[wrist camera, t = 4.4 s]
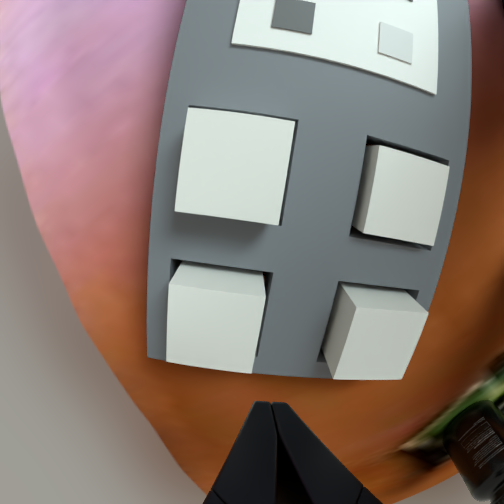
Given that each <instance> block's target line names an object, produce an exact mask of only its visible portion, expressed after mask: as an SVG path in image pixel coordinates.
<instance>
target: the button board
mask: <svg viewBox="0 0 504 504" xmlns="http://www.w3.org/2000/svg"><path fill="white" fill-rule="evenodd" d="M471 86H472V51H471V29H470V16H469V6H468V0H187V1H186V5H185V9H184V13H183V17H182V21H181V25H180V29H179V33H178V38H177V42H176V47H175V51H174V56H173V61H172V66H171V71H170V76H169V81H168V87H167V93H166V98H165V104H164V110H163V117H162V123H161V130H160V137H159V145H158V152H157V160H156V169H155V178H154V188H153V198H152V210H151V222H150V237H149V255H148V279H147V357H149V358H154V359H159V360H165V361H166V347H167V313H168V291H169V283H170V281H171V279H172V278H173V276H174V274H175V273H176V271H177V269H178V268H179V266H180V264H181V260H186V261H193V262H200V263H208V264H215V265H222V266H229V267H236V268H244V269H251V270H259V271H266V275H265V281H264V287H265V295H266V299H265V305H264V310H263V316H262V321H261V326H260V332H259V337H258V342H257V348H256V353H255V358H254V363H253V369H252V373H258V374H269V375H280V376H294V377H310V378H332V375H331V372H330V369H329V367H328V364H327V361H326V358H325V356H324V353H323V350H322V347H321V344H322V340H323V337H324V334H325V330H326V326H327V323H328V319H329V316H330V312H331V308H332V304H333V301H334V297H335V293H336V289H337V285H338V281H345V282H353V283H361V284H369V285H378V286H386V287H395V288H403V289H404V290H405V291H406V292H407V293H408V294H409V295H410V296H411V297H412V298H413V299H415V300H416V301H417V302H418V303H419V304H420V305H421V306H422V307H423V308H424V309H425V310H426V311H427V312H428V310H429V307H430V304H431V301H432V299H433V296H434V292H435V289H436V286H437V283H438V280H439V277H440V273H441V270H442V267H443V263H444V260H445V256H446V252H447V248H448V245H449V241H450V237H451V233H452V228H453V224H454V220H455V215H456V210H457V206H458V201H459V195H460V190H461V184H462V178H463V172H464V166H465V159H466V151H467V142H468V133H469V122H470V108H471ZM188 108H200V109H210V110H220V111H229V112H237V113H244V114H252V115H259V116H265V117H271V118H278V119H283V120H289V121H295V126H294V132H293V139H292V145H291V151H290V158H289V164H288V170H287V177H286V183H285V189H284V195H283V201H282V207H281V213H280V219H279V225H272V224H265V223H258V222H251V221H244V220H237V219H230V218H222V217H215V216H208V215H200V214H192V213H184V212H176V211H175V201H176V192H177V183H178V175H179V167H180V159H181V151H182V144H183V137H184V130H185V123H186V117H187V111H188ZM366 143H369V144H373V145H381V146H385V147H389V148H392V149H396V150H399V151H402V152H406V153H409V154H412V155H416V156H419V157H422V158H425V159H428V160H431V161H434V162H437V163H440V164H443V165H446V166H449V167H450V168H449V175H448V181H447V186H446V192H445V197H444V202H443V207H442V212H441V217H440V221H439V225H438V230H437V234H436V238H435V242H434V246H431V245H425V244H420V243H415V242H410V241H404V240H399V239H393V238H388V237H382V236H377V235H371V234H365V233H362V232H361V231H359V230H358V229H357V228H355V227H351V224H352V219H353V214H354V209H355V204H356V199H357V193H358V188H359V182H360V177H361V171H362V165H363V159H364V153H365V146H366Z"/></svg>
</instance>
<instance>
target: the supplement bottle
mask: <svg viewBox="0 0 504 504" xmlns="http://www.w3.org/2000/svg"><path fill="white" fill-rule="evenodd" d="M443 445H444V447H445V449H446V451H447V452H448V454H449V456H450V458H451V459H452V461H453V463H454V465H455V466H456V468H457V470H458V472H459V473H460V475H461V477H462V478H463V481H464V482H465V484H466V486H467V488H468V490H469V491H470V493H471V495H472V496H473V498H474V499H475V500H477V501H489V500H490V502H491V504H504V414H503V413H502V412H501V410H500V409H499V408H498V407H497V406H496V405H495V403H494V402H492V401H490V400H483V401H479V402H477V403H475V404H473V405H471V406H470V407H468V408H467V409H465V410H464V411H463V412H462V413H461V414H459V415H458V416H457V417H456V418H455V419H454V420H453V421H452V423H451V424H450V425H449V427H448V428H447V430H446V431H445V434H444V437H443Z"/></svg>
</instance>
